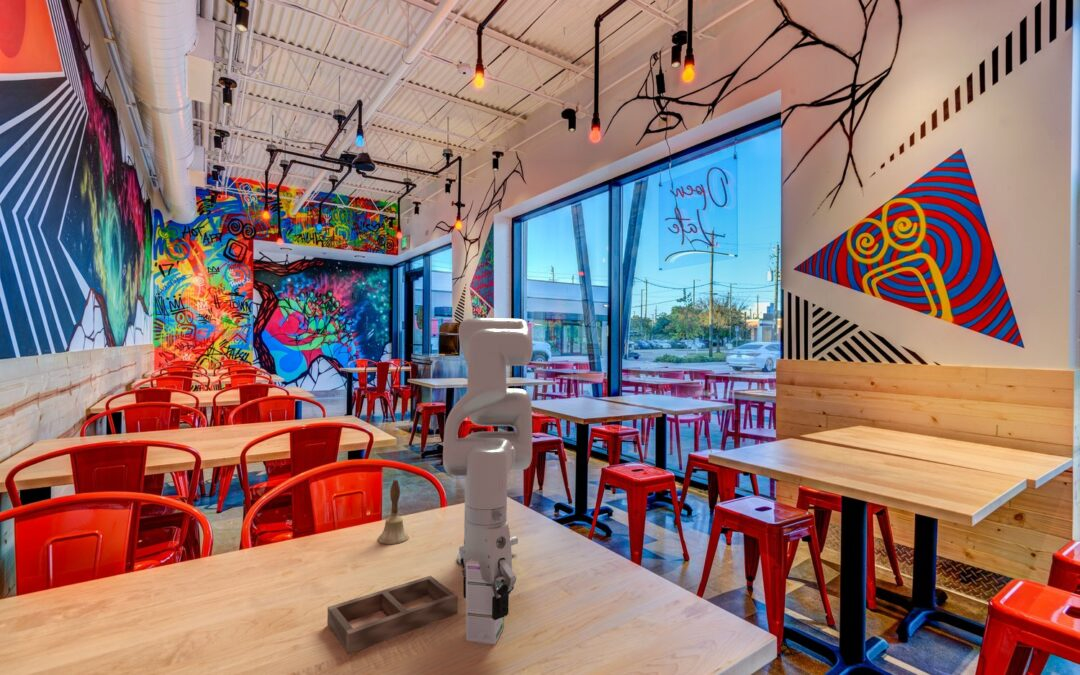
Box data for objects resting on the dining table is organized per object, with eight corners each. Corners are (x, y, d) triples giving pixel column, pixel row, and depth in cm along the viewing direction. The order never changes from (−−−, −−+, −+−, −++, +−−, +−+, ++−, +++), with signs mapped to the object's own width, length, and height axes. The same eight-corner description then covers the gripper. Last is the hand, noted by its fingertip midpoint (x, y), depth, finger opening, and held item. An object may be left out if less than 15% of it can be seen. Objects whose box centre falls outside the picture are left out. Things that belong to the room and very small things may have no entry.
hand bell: (410, 532, 146) (411, 475, 146) (408, 543, 138) (409, 483, 138) (379, 533, 145) (380, 476, 145) (375, 545, 137) (376, 485, 137)
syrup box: (495, 645, 93) (496, 564, 93) (464, 641, 94) (465, 561, 94) (504, 628, 98) (505, 551, 98) (474, 624, 100) (475, 548, 100)
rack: (430, 591, 112) (430, 575, 112) (457, 613, 103) (457, 596, 103) (327, 625, 98) (327, 607, 98) (348, 654, 90) (348, 633, 90)
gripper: (531, 522, 92) (529, 619, 92) (478, 498, 105) (476, 583, 105) (496, 531, 87) (494, 633, 87) (445, 505, 100) (444, 594, 100)
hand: (485, 606), depth 96 cm, fingers open, 9 cm apart
